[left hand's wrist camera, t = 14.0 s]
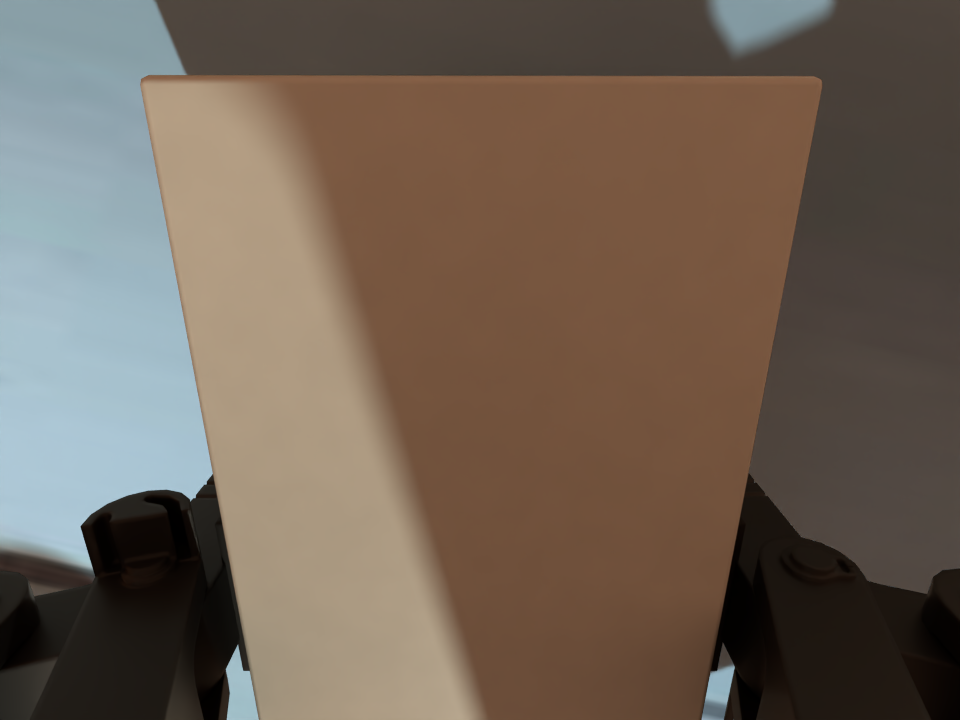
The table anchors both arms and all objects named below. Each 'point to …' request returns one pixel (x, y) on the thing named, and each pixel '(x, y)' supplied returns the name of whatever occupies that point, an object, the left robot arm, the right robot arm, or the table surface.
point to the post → (480, 374)
